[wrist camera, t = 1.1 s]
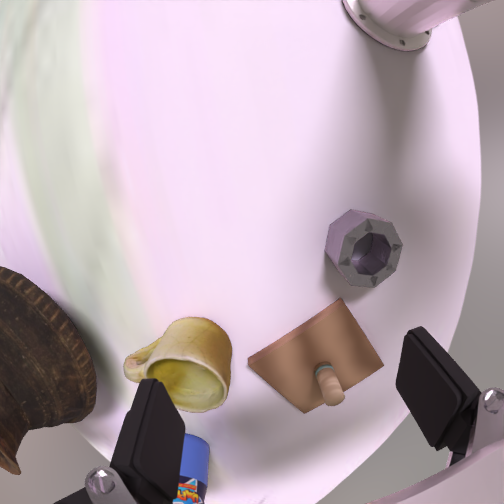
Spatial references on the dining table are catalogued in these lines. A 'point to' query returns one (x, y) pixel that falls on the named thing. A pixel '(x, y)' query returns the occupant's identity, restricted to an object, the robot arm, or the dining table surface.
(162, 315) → the dining table surface
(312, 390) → the post block
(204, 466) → the water bottle
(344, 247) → the collar
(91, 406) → the ceramic pot
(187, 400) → the mug
